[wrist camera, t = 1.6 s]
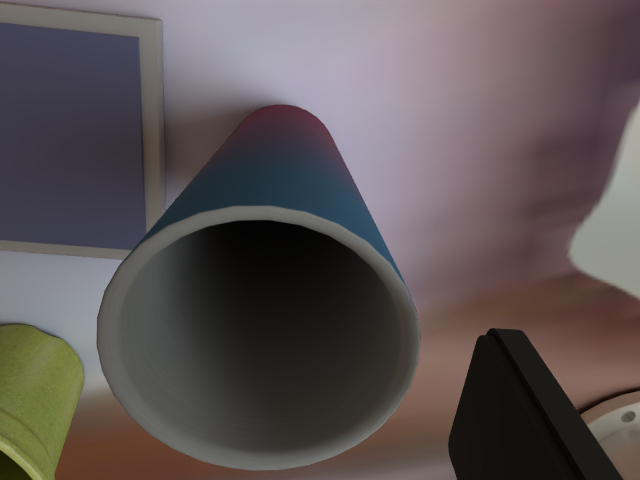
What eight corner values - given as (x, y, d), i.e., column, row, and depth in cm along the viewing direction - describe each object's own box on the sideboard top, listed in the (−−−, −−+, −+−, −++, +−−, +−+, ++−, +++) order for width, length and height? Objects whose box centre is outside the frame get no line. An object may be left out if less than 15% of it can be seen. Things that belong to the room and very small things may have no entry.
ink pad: (162, 19, 22) (154, 20, 21) (166, 253, 27) (160, 265, 25) (-114, -11, 21) (-139, -12, 20) (-61, 235, 26) (-78, 247, 25)
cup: (346, 229, 26) (394, 477, 13) (209, 219, 26) (107, 465, 12) (364, 91, 23) (450, 219, 10) (210, 76, 23) (79, 190, 9)
